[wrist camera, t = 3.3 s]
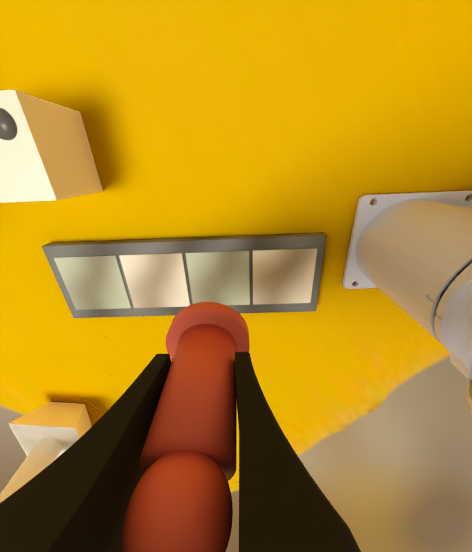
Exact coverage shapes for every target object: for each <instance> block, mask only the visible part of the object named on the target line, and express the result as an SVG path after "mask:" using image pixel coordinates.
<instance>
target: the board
mask: <svg viewBox="0 0 472 552" xmlns="http://www.w3.org/2000/svg"><path fill="white" fill-rule="evenodd" d="M326 238H327V236H326V235H325V234H324V233H302V234H275V235H248V236H221V237H193V238H166V239H139V240H112V241H85V242H58V243H48V244H46V245H44V246H42V248H43V250H44V252H45V255H46V257H47V259H48V261H49V264H50V266H51V268H52V270H53V273H54V275H55V277H56V279H57V282H58V284H59V286H60V288H61V291H62V293H63V295H64V297H65V300H66V302H67V304H68V306H69V309H70V311H71V313H72V315H73V318H91V317H126V316H162V315H177V314H178V313H179V312H180V311H181V310H182V309H184V308H185V307H187V306H189V305H192V304H195V303H199V302H215V303H220V304H223V305H226V306H228V307H230V308H232V309H234V310H235V311H237V312H238V313H268V312H303V311H316V307H317V300H318V293H319V286H320V279H321V272H322V266H323V259H324V252H325V245H326Z"/></svg>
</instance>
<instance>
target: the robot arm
mask: <svg viewBox="0 0 472 552" xmlns="http://www.w3.org/2000/svg"><path fill="white" fill-rule="evenodd" d="M467 196H468V198H467V199H466V200H465V198H466V197H467ZM373 198H374V203H373V204H371V205H370V201H371V200H372V199H373ZM355 281H356V283H355V284H352V283H353V282H355ZM342 285H343V286H344V287H345V288H347V289H357V288H379V289H380V290H381V291H382V292H384V293H385V294H386V295H387V296H388V297H389V298H390V299H391V300H393V301H394V302H395V303H396V304H397V305H398V306H399V307H401V308H402V309H403V310H404V311H405V312H406V313H407V314H408V315H410V316H411V317H412V318H413V319H414V320H415V321H416V322H418V323H419V324H420V325H421V326H422V327H423V328H424V329H425V330H427V331H428V332H429V333H430V334H431V335H432V336H433V337H435V338H436V339H437V340H438V341H439V342H440V343H441V344H442V345H443V346H445V347H446V348H447V349H448V351H449V352H450V356H451V357H450V362H451V363H452V364H453V365H454V366H455V367H456V368H457V369H458V370H459V371H460V372H461V373H462V374H464V375H465V376H466V377H467V378H468V379H469V383H468V386H467V392H466V394H467V402H468V405H469V408H470V411H471V413H472V190H467V191H442V192H418V193H393V194H369V195H363V196H361V197H360V198H359V200H358V203H357V209H356V214H355V219H354V224H353V229H352V234H351V240H350V245H349V250H348V255H347V260H346V266H345V271H344V276H343V281H342ZM170 366H171V359H170V355H169V354H157V355H156V356H155V357H154V358H153V359H152V360H151V362H150V363H149V364H148V365H147V367H146V368H145V369H144V370H143V371H142V373H141V374H140V375H139V376H138V377H137V379H136V380H135V381H134V382H133V383H132V385H131V386H130V387H129V388H128V389H127V390H126V391H125V393H124V394H123V395H122V396H121V397H120V398H119V399H118V400H117V401H116V402H115V404H114V405H113V406H112V407H111V408H110V409H109V410H108V411H107V412H106V413H105V414H104V415H103V416H102V417H101V418H100V419H99V420H98V421H97V422H96V423H95V424H94V425H93V426H92V427H91V428H90V429H89V430H88V431H87V432H86V433H85V434H84V435H83V436H82V437H81V438H79V439H78V440H77V441H76V442H75V443H74V444H73V445H72V446H70V447H69V448H68V449H67V450H66V451H65V452H64V453H63V454H61V455H60V456H59V457H58V458H57V459H56V460H54V461H53V462H52V463H51V464H50V465H48V466H47V467H46V468H45V469H43V470H42V471H41V472H40V473H38V474H37V475H36V476H35V477H33V478H32V479H31V480H30V481H28V482H27V483H26V484H25V485H23V486H22V487H21V488H19V489H18V490H17V491H16V492H14V493H13V494H12V495H10V496H9V497H8V498H6V499H5V500H4V501H2V502H1V503H0V552H123V527H124V521H125V515H126V511H127V508H128V504H129V501H130V499H131V496H132V494H133V492H134V490H135V488H136V486H137V484H138V482H139V481H140V479H141V477H142V476H143V475H144V472H143V471H142V469H141V467H140V463H139V460H140V456H141V453H142V450H143V447H144V444H145V441H146V438H147V435H148V432H149V429H150V426H151V423H152V420H153V417H154V414H155V411H156V408H157V405H158V402H159V399H160V396H161V393H162V390H163V387H164V384H165V381H166V378H167V375H168V372H169V369H170ZM235 380H236V393H237V394H236V397H237V410H238V422H239V552H361V551H360V549H359V547H358V545H357V543H356V541H355V539H354V537H353V535H352V533H351V531H350V529H349V527H348V526H347V524H346V523H345V522H344V520H343V519H342V518H341V516H340V515H339V514H338V513H337V511H336V510H335V509H334V507H333V506H332V505H331V504H330V502H329V501H328V499H327V498H326V497H325V495H324V494H323V493H322V491H321V490H320V488H319V487H318V486H317V484H316V483H315V481H314V480H313V479H312V477H311V476H310V474H309V473H308V471H307V470H306V468H305V467H304V465H303V464H302V462H301V461H300V459H299V457H298V456H297V454H296V453H295V451H294V450H293V448H292V447H291V445H290V443H289V442H288V440H287V438H286V437H285V435H284V433H283V432H282V430H281V428H280V426H279V424H278V423H277V421H276V419H275V417H274V415H273V413H272V411H271V409H270V407H269V405H268V403H267V401H266V399H265V397H264V395H263V392H262V390H261V387H260V385H259V383H258V380H257V378H256V375H255V372H254V369H253V366H252V362H251V358H250V353H249V352H235Z"/></svg>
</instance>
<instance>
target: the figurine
mask: <svg viewBox="0 0 472 552" xmlns="http://www.w3.org/2000/svg"><path fill="white" fill-rule="evenodd" d="M8 425H9V426H10V428H11V430H12V431H13V433H14V435H15V436H16V438H17V440H18V442H19V443H20V445H21V447H22V448H23V450H24V452H25V453H26V455H27V458H26V459H25V460H24V462H23V463H22V465H21V466H20V468H19V469H18V470H17V471H16V473H15V474H14V476H13V477H12V478H11V480H10V481H9V483H8V484H7V485H6V487H5V488H4V490H3V491H2V492H1V494H0V503H1V502H2V501H4V500H5V499H6V498H8V497H9V496H10V495H12V494H13V493H14V492H16V491H17V490H18V489H19V488H21V487H22V486H23V485H25V484H26V483H27V482H28V481H30V480H31V479H32V478H33V477H35V476H36V475H37V474H38V473H40V472H41V471H42V470H43V469H45V468H46V467H47V466H48V465H50V464H51V463H52V462H53V461H54V460H56V459H57V458H58V457H59V456H60V455H61V454H63V453H64V452H65V451H66V450H67V449H68V448H69V447H70V446H72V445H73V444H74V443H75V442H76V441H77V440H78V439H79V438H81V437H82V436H83V435H84V434H85V433H86V432H87V431H88V430H89V429H90V428H91V421H90V418H89V415H88V412H87V409H86V406H85V404H80V403H64V402H48V403H46V404H45V405H43V406H41V407H39V408H37V409H35V410H33V411H31V412H29V413H28V414H26V415H24V416H22V417H20V418H18V419H16V420H14V421H12V422H10V423H9V424H8Z"/></svg>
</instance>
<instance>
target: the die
mask: <svg viewBox="0 0 472 552" xmlns="http://www.w3.org/2000/svg"><path fill="white" fill-rule="evenodd" d="M101 191H103V189H102V186H101V182H100V179H99V175H98V172H97V168H96V165H95V161H94V158H93V154H92V151H91V147H90V144H89V141H88V137H87V134H86V130H85V127H84V123H83V120H82V116H81V113H80V111H77V110H74V109H71V108H68V107H65V106H62V105H59V104H56V103H53V102H50V101H47V100H44V99H41V98H38V97H35V96H32V95H29V94H26V93H23V92H20V91H17V90H3V91H0V203H4V202H27V201H49V200H60V199H65V198H70V197H75V196H80V195H86V194H91V193H96V192H101Z"/></svg>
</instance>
